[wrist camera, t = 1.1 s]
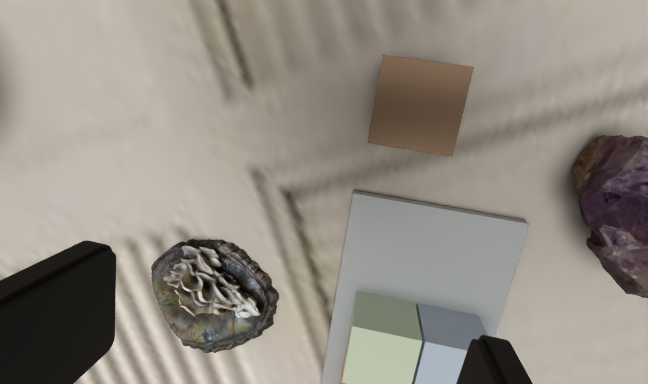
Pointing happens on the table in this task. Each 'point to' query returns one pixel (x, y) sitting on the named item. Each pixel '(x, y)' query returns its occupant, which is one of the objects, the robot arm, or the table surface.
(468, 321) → the blue block
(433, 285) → the assembly board
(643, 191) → the rock
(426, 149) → the walnut block
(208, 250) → the grey oval shell
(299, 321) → the table surface
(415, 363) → the sage block
